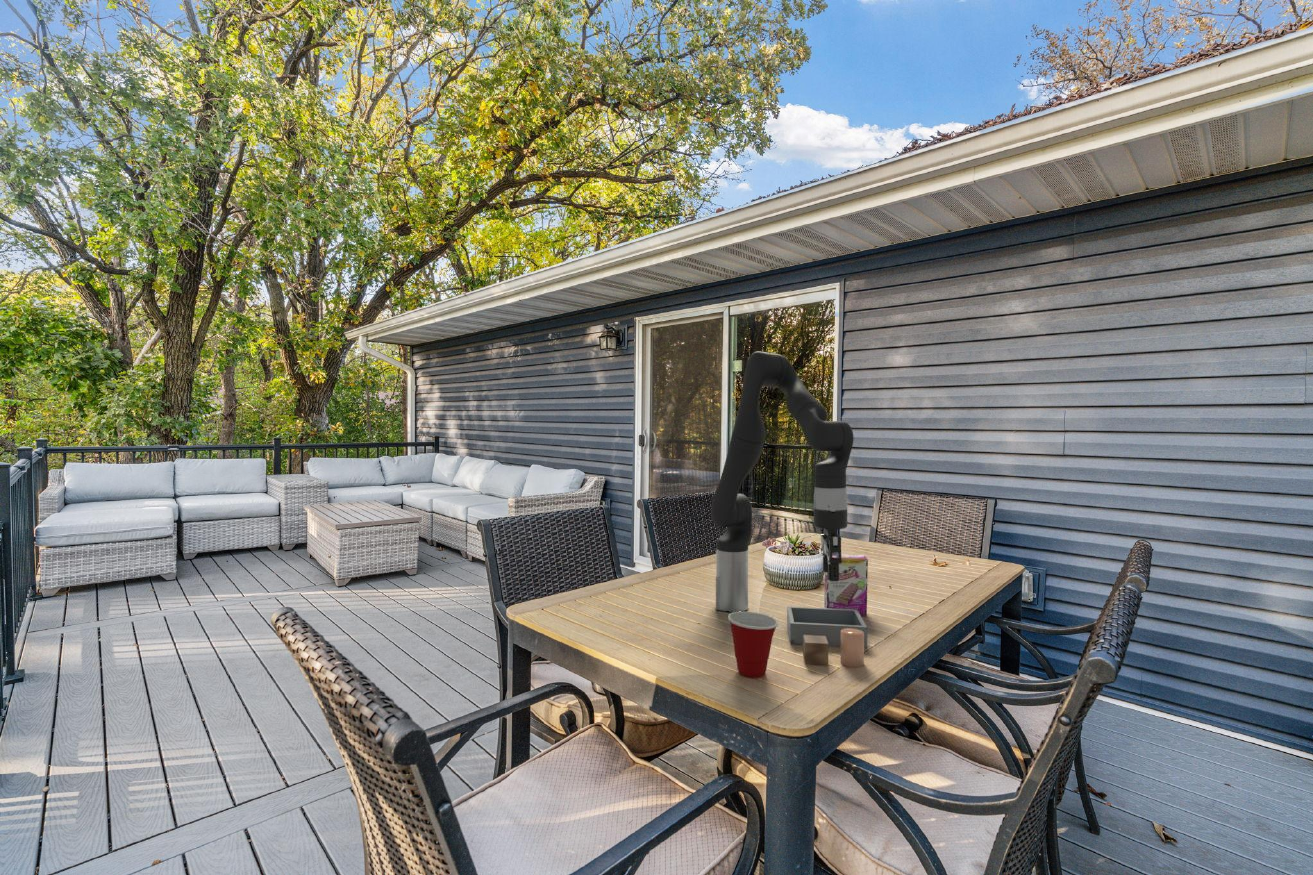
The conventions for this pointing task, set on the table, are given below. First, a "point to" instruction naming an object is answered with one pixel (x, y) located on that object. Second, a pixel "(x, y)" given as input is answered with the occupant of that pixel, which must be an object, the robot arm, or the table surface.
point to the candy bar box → (848, 585)
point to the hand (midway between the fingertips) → (830, 576)
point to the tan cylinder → (852, 647)
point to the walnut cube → (815, 650)
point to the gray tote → (822, 623)
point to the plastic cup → (752, 641)
